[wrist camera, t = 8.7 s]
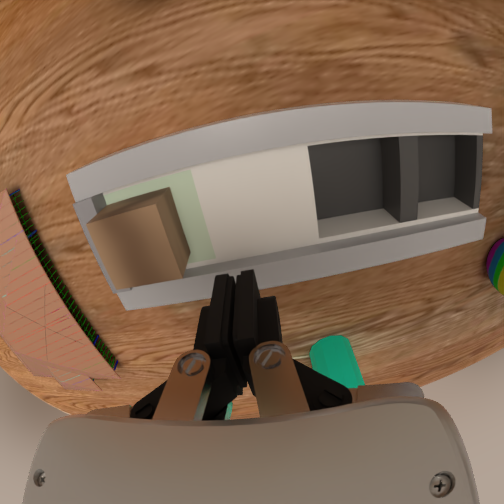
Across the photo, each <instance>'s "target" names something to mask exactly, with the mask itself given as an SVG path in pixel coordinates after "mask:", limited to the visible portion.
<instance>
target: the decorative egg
mask: <svg viewBox="0 0 504 504" xmlns="http://www.w3.org/2000/svg"><path fill="white" fill-rule="evenodd" d="M486 266H487V272H488V276H489V279H490V281H491V283H492V284H493V286H494V287H495V288H496V289H497V290H498V291H499V292H500V293H501V294H502V295H504V239H500V240H499V241H497V242H496V243H495V244H494V245H493V247H492V248H491V250H490V252H489V254H488V257H487V263H486Z"/></svg>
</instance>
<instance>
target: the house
mask: <svg viewBox="0 0 504 504" xmlns="http://www.w3.org/2000/svg"><path fill="white" fill-rule="evenodd" d="M18 191H20V190H17V191H15V192H14V193H12V194H10V195H9V194H8V191H7V188H6V189H5V190H4V191H2V192H1V193H0V336H1V337H2V338H3V340H4V341H5V342H6V344H7V345H8V346H9V347H10V349H11V350H12V351H13V352H14V354H15V355H16V356H17V357H18V358H19V360H20V361H21V362H22V363H23V364H24V365H25V366H26V368H27V369H28V370H29V371H30V372H31V373H32V374H33V375H34V376H41V377H54V378H55V379H56V380H57V381H58V383H59V384H60V385H61V386H62V387H63V388H64V389H70V390H85V391H102V390H101V389H100V387H99V386H98V385H97V384H96V383H95V382H94V379H117V378H120V377H119V375H118V374H117V373H116V372H115V369H116V366H117V363H118V360H117V362H116V365H115V366H114V367H113V365H114V363H113V362H115V361H114V359H115V357H114V359H113V362H111V361H110V359H111V357H110V359H109V358H108V357H107V356H108V354H107V356H106V358H108V359H109V361H110V363H112V364H113V365H111V366H110V363H109V362H107V361H106V359H104V358H103V355H104V354H105V351H104V352H103V351H102V350H101V349H102V347H103V345H104V343H103V345H102V347H101V348H100V347H99V348H100V351H102V352H103V355H101V354H100V352H99V351H98V350H97V348H98V346H99V344H97V343H96V341H97V339H98V336H99V335H97V337H96V339H95V340H94V338H93V335H94V333H95V331H94V333H93V335H92V336H91V335H90V334H89V333H90V331H91V329H92V327H91V329H90V331H89V332H88V330H87V329H86V328H87V327H86V328H85V327H84V328H85V330H87V332H88V335H90V338H91V339H92V338H93V340H94V341H93V340H92V341H91V339H90V338H88V335H87V336H86V334H85V333H84V332H85V330H84V331H83V330H82V329H81V328H82V326H84V325H83V324H84V322H85V321H84V322H83V323H82V322H81V320H80V319H81V318H82V316H83V314H82V316H81V318H80V319H79V318H78V317H77V318H78V319H79V321H80V322H81V323H82V326H81V327H80V326H79V324H78V323H79V321H78V323H77V322H76V320H75V318H76V317H75V318H74V317H73V316H72V313H73V312H74V310H75V309H74V310H73V309H72V308H71V309H72V310H73V312H72V313H70V311H69V308H70V307H71V305H72V304H73V302H74V301H75V300H74V301H73V302H72V304H71V305H70V304H69V302H68V300H69V299H70V297H71V296H72V295H71V296H70V297H69V299H68V300H66V301H67V302H68V304H69V305H70V307H69V308H67V307H66V303H67V302H66V303H65V304H64V302H63V301H62V299H63V298H65V295H66V294H67V293H66V294H65V295H64V294H63V293H62V290H63V289H64V288H63V289H62V290H60V288H59V287H58V286H59V285H60V284H61V282H62V281H63V280H62V281H61V282H60V284H59V285H57V287H58V288H59V290H60V291H61V292H60V293H62V294H63V296H64V297H63V298H62V299H61V297H60V296H59V294H60V293H59V294H58V293H57V291H56V289H57V288H56V289H55V288H54V286H53V283H54V282H55V283H56V280H57V278H58V277H59V276H60V275H59V276H58V277H57V278H56V280H54V278H53V277H52V275H53V274H54V273H55V272H56V271H57V270H56V271H55V272H54V273H53V274H51V273H50V274H51V277H52V278H53V280H54V282H53V283H51V281H50V278H51V277H50V278H48V276H47V274H46V273H47V272H48V271H49V270H50V269H51V268H52V267H53V266H52V267H51V268H50V269H49V270H48V271H47V272H45V271H44V269H43V268H44V267H45V266H46V264H45V266H44V267H42V265H41V263H40V262H41V261H42V260H43V259H44V258H45V257H46V256H47V255H48V254H47V255H46V256H45V257H44V258H42V257H41V258H42V260H41V261H39V260H38V258H37V256H38V255H39V254H40V253H41V252H42V251H43V250H44V249H43V250H42V251H41V252H39V250H38V247H39V246H40V245H41V244H42V243H41V244H40V245H39V246H38V247H36V245H35V243H34V242H35V241H36V240H37V239H36V240H35V241H34V240H33V239H31V240H33V243H34V245H35V247H36V249H37V250H38V252H39V254H38V255H37V256H36V254H35V252H34V251H35V250H36V249H35V250H33V248H32V246H31V245H32V244H33V243H32V244H30V241H31V240H30V241H29V240H28V238H29V237H31V236H32V235H33V234H34V233H35V232H36V230H35V231H34V232H33V233H32V232H31V233H30V232H29V234H28V235H26V234H25V231H26V230H27V229H28V228H27V226H26V224H25V226H26V228H27V229H26V230H25V231H24V229H23V227H22V225H23V224H22V225H21V223H20V220H19V219H20V218H18V216H17V214H16V211H15V209H14V207H15V206H16V205H17V206H18V204H19V203H18V204H17V203H16V205H15V206H13V204H12V200H11V199H10V196H11V195H13V196H14V194H15V193H16V192H18ZM19 196H20V195H19ZM16 198H17V197H16ZM14 200H15V197H14ZM23 201H24V200H23ZM15 202H16V200H15ZM20 203H21V202H20ZM25 207H26V206H25ZM25 207H24V208H25ZM18 209H19V207H18ZM22 209H23V208H22ZM22 209H21V210H22ZM18 212H20V209H19V211H18ZM20 214H21V212H20ZM26 214H27V213H26ZM26 214H25V215H26ZM21 218H23V216H22V215H21ZM30 219H31V218H30ZM30 219H29V220H30ZM23 220H24V219H23ZM27 221H28V220H27ZM27 221H26V222H27ZM26 222H25V221H24V223H26ZM32 225H33V224H32ZM32 225H31V226H32ZM31 226H30V227H31ZM30 227H29V228H30ZM28 231H29V230H28ZM37 235H38V234H37ZM37 235H36V236H37ZM36 236H35V237H36ZM35 237H34V238H35ZM31 238H32V237H31ZM40 256H41V255H40ZM50 260H51V259H50ZM50 260H49V261H50ZM43 261H44V260H43ZM49 261H48V262H49ZM48 262H47V263H48ZM44 263H45V262H44ZM46 267H47V266H46ZM47 269H48V268H47ZM49 272H50V271H49ZM56 284H57V283H56ZM65 286H66V285H65ZM65 286H64V287H65ZM68 291H69V290H68ZM68 291H67V292H68ZM65 299H66V298H65ZM76 307H77V305H76ZM76 307H75V308H76ZM80 310H81V309H80ZM80 310H79V311H80ZM74 313H75V312H74ZM78 313H79V312H78ZM78 313H77V315H78ZM75 314H76V313H75ZM77 315H76V316H77ZM86 319H87V318H86ZM86 319H85V320H86ZM88 325H89V323H88ZM88 325H87V326H88ZM94 337H95V335H94ZM100 341H101V339H100ZM100 341H99V343H100ZM92 342H94V343H93V344H92ZM95 343H96V344H97V345H98V346H97V348H96V347H95V346H94V345H95ZM106 348H107V346H106ZM106 348H105V350H106ZM109 351H110V350H109ZM109 351H108V353H109ZM105 355H106V354H105ZM111 356H112V354H111ZM113 368H114V370H113ZM92 379H93V380H92Z"/></svg>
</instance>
